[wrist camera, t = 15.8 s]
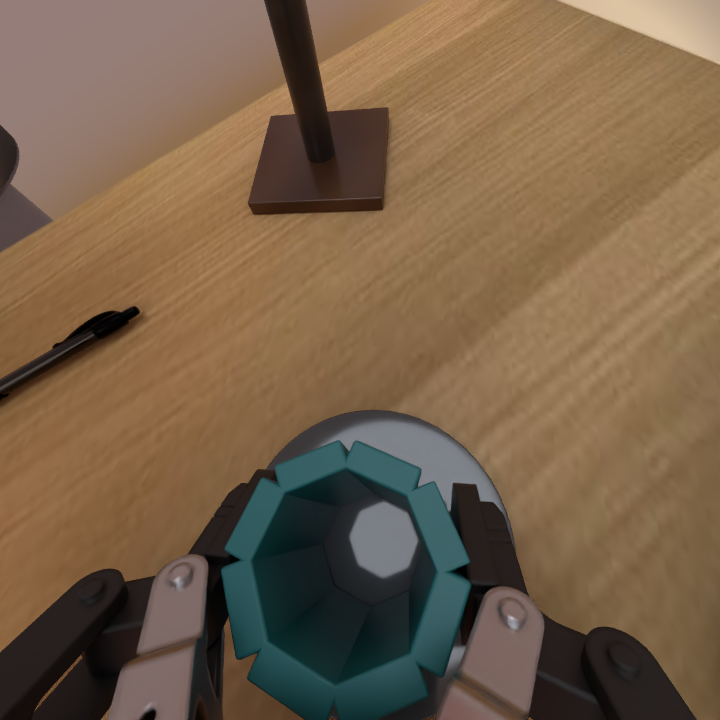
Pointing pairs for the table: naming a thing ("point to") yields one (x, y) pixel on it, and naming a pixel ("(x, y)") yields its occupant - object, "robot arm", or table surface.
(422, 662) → the teal octagonal tube
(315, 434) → the slate coaster
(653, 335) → the table surface
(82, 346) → the pen
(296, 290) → the table surface
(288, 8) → the holder
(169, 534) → the table surface
